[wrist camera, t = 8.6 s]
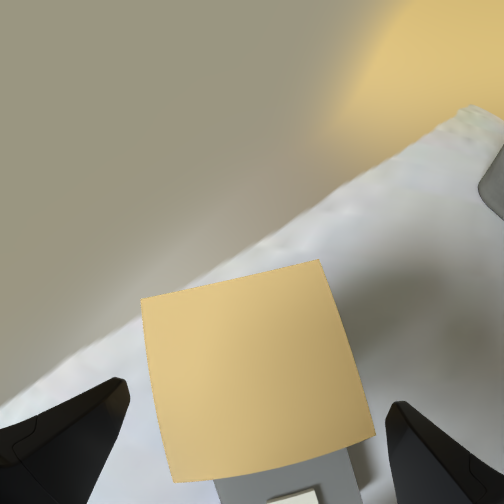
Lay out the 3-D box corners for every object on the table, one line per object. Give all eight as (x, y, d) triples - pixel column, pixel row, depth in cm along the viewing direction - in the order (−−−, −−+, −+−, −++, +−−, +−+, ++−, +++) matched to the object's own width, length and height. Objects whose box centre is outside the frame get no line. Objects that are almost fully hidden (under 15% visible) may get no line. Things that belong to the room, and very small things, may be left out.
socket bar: (352, 497, 14) (366, 509, 11) (239, 528, 13) (235, 546, 10) (297, 322, 20) (302, 309, 18) (187, 351, 19) (175, 342, 17)
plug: (297, 414, 17) (379, 436, 4) (234, 428, 16) (171, 485, 4) (281, 357, 19) (320, 256, 6) (221, 370, 18) (138, 297, 6)
